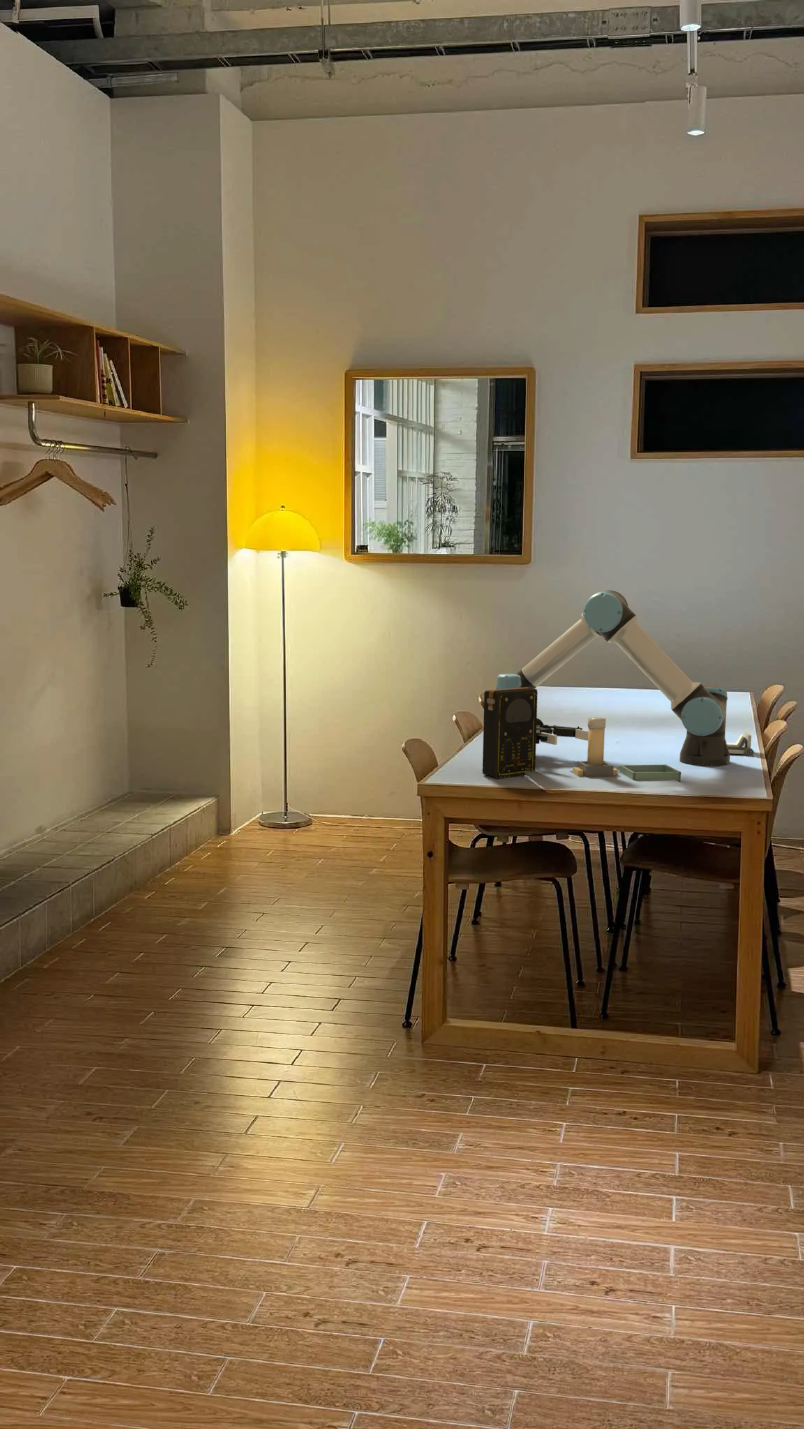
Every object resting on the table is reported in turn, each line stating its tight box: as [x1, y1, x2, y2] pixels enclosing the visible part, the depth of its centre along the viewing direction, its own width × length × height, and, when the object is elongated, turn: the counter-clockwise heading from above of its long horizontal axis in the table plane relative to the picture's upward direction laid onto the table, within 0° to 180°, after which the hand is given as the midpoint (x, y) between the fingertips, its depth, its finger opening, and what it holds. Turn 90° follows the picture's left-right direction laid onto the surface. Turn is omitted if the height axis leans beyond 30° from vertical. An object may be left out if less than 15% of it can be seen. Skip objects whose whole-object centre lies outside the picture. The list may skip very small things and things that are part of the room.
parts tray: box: [619, 764, 682, 783], centre depth 378 cm, size 14×12×3 cm
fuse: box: [586, 716, 607, 766], centre depth 378 cm, size 5×5×16 cm
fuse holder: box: [569, 760, 621, 778], centre depth 379 cm, size 12×10×4 cm
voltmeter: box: [482, 687, 538, 780], centre depth 380 cm, size 16×9×25 cm, turn 126°
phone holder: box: [726, 730, 755, 757], centre depth 425 cm, size 18×10×12 cm
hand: (573, 738), depth 386 cm, fingers open, 13 cm apart
